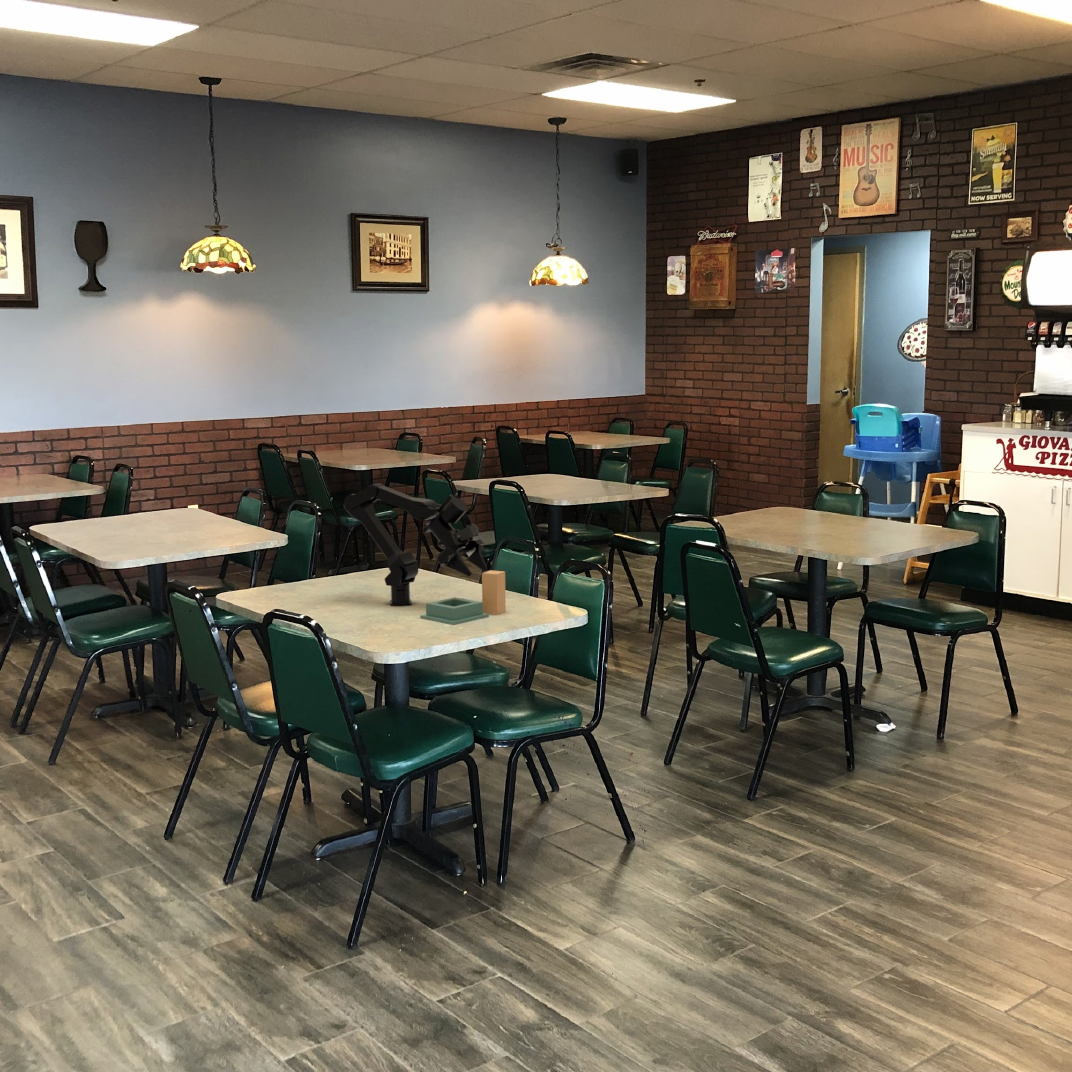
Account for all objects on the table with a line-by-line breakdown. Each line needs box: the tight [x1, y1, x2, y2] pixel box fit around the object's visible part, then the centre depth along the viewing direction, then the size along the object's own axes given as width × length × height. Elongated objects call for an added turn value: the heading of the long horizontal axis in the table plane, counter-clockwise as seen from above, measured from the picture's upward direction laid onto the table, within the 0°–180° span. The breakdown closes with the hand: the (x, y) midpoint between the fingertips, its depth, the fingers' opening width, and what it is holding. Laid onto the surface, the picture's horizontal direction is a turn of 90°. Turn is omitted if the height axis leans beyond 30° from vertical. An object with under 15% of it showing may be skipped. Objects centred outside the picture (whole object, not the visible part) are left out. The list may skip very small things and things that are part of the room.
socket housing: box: [419, 597, 490, 626], centre depth 350 cm, size 14×14×4 cm
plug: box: [481, 569, 507, 616], centre depth 356 cm, size 5×5×12 cm
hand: (478, 572), depth 358 cm, fingers open, 9 cm apart
